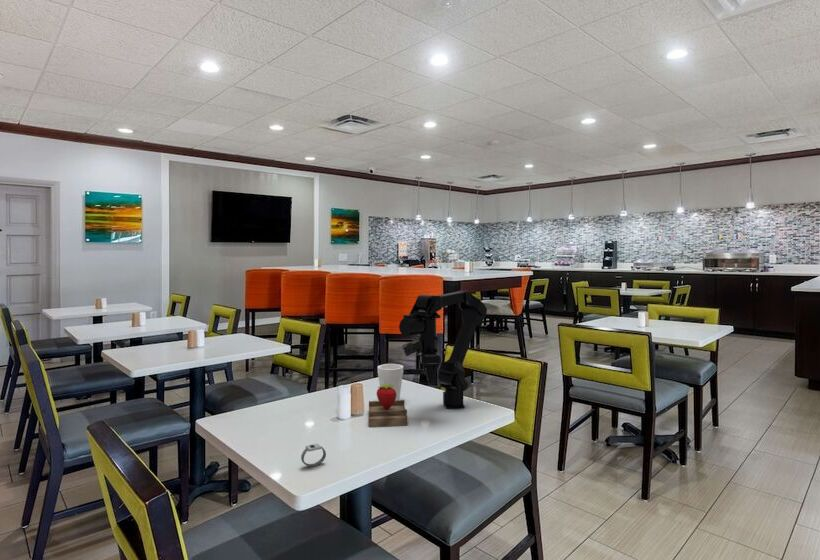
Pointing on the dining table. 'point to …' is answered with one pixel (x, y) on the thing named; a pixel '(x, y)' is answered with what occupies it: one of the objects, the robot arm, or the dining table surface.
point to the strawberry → (386, 396)
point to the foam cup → (391, 376)
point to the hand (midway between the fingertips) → (428, 378)
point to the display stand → (387, 414)
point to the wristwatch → (312, 448)
